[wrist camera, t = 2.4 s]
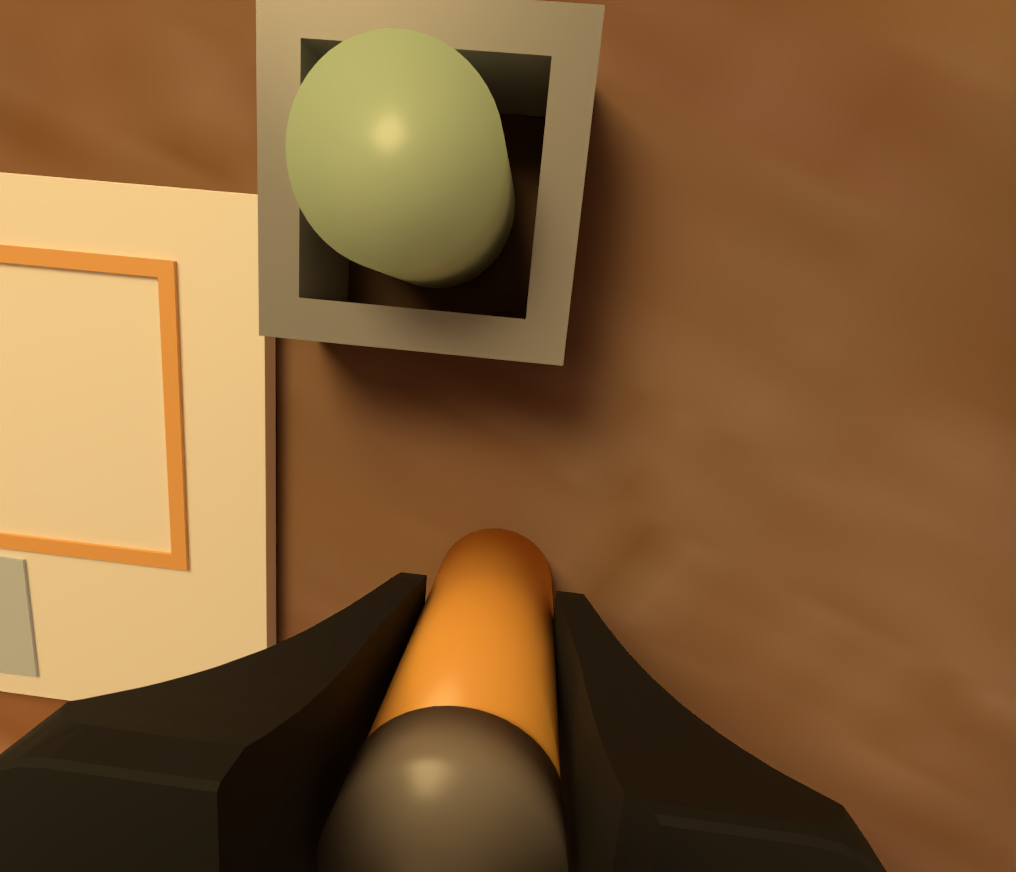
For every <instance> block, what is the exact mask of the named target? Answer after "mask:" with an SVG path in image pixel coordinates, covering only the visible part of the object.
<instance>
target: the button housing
mask: <svg viewBox="0 0 1016 872" xmlns="http://www.w3.org/2000/svg"><path fill="white" fill-rule="evenodd" d="M604 10H605V5H597V4H582V3H567V2H552V1H537V0H256V65H257V176H258V286H259V336H268V337H278V338H288V339H298V340H308V341H318V342H328V343H338V344H348V345H358V346H368V347H379V348H389V349H399V350H409V351H419V352H429V353H439V354H449V355H459V356H469V357H479V358H489V359H500V360H510V361H520V362H530V363H540V364H550V365H560V366H563V362H564V353H565V345H566V336H567V327H568V319H569V310H570V302H571V293H572V284H573V276H574V267H575V259H576V250H577V242H578V233H579V224H580V216H581V207H582V199H583V190H584V181H585V173H586V164H587V156H588V147H589V138H590V130H591V121H592V113H593V104H594V95H595V87H596V78H597V70H598V61H599V52H600V44H601V35H602V27H603V18H604ZM383 28H401V29H408V30H414V31H418V32H421V33H424V34H428V35H430V36H432V37H434V38H437V39H439V40H441V41H443V42H444V43H446V44H447V45H449V46H450V47H452V48H453V49H455V50H456V51H457V52H459V53H460V54H461V55H462V56H463V57H464V58H465V59H467V60H468V61H469V63H470V64H471V65H472V66H473V67H474V68H475V69H476V71H477V72H478V73H479V74H480V76H481V77H482V79H483V81H484V82H485V84H486V85H487V87H488V89H489V91H490V93H491V95H492V97H493V99H494V101H495V104H496V107H497V109H498V112H499V114H512V115H525V116H538V117H546V120H545V130H544V140H543V150H542V160H541V170H540V180H539V190H538V200H537V210H536V221H535V231H534V241H533V251H532V261H531V271H530V281H529V291H528V301H527V311H526V319H519V318H508V317H498V316H487V315H477V314H466V313H456V312H445V311H435V310H424V309H414V308H403V307H393V306H382V305H372V304H361V303H351V302H348V279H349V259H348V258H346V257H344V256H343V255H341V254H340V253H338V252H337V251H335V250H334V249H333V248H332V247H331V246H329V245H328V244H327V243H326V242H325V241H324V240H323V239H322V238H321V237H320V236H319V235H318V234H317V233H316V232H315V230H314V229H313V228H312V226H311V225H310V224H309V222H308V221H307V219H306V218H305V216H304V214H303V212H302V211H301V209H300V207H299V205H298V202H297V200H296V198H295V195H294V193H293V190H292V186H291V183H290V180H289V175H288V169H287V164H286V148H285V145H286V130H287V125H288V119H289V114H290V111H291V108H292V105H293V101H294V99H295V97H296V94H297V92H298V90H299V88H300V86H301V84H302V82H303V81H304V79H305V78H306V76H307V74H308V73H309V71H310V70H311V69H312V68H313V67H314V65H315V64H316V63H317V62H318V61H319V60H320V59H321V58H322V57H323V56H324V55H325V54H326V53H327V52H328V51H329V50H331V49H332V48H334V47H335V46H337V45H338V44H340V43H341V42H343V41H345V40H347V39H349V38H351V37H353V36H355V35H358V34H361V33H364V32H367V31H371V30H377V29H383Z"/></svg>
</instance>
